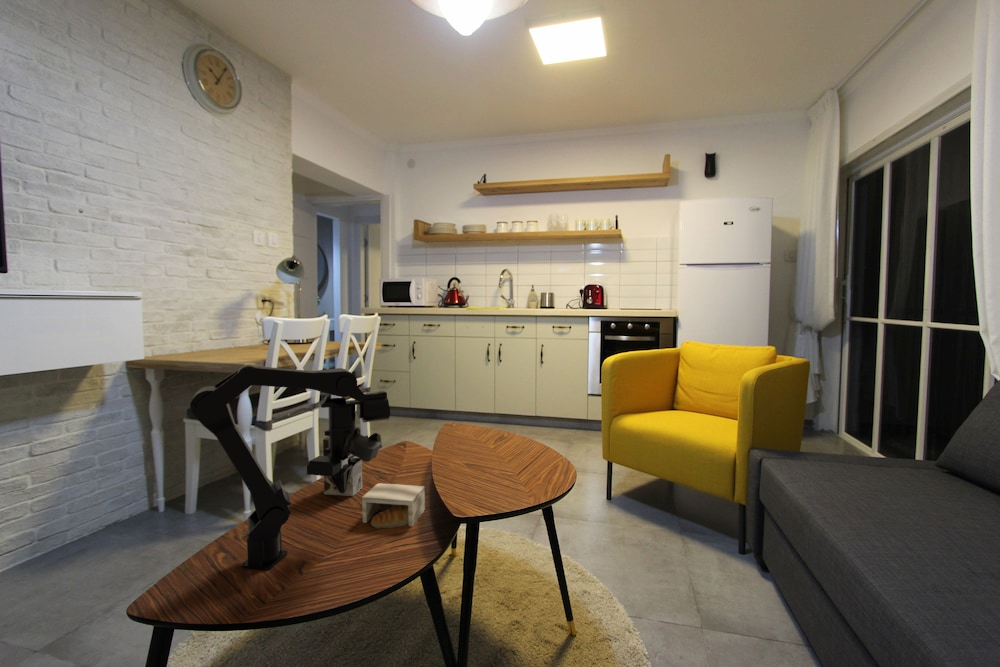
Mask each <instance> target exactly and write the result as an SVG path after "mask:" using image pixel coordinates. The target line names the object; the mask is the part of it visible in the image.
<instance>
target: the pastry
mask: <svg viewBox="0 0 1000 667" xmlns="http://www.w3.org/2000/svg"><path fill="white" fill-rule="evenodd" d="M405 524H407V525H409V517H408V507H407V505H402V506H395V507H390V508H388V509H387V510H385V511H380V512H378V513H377V514H375V515H374V516H373V517H372V518H371V519H370V525H371V526H372V527H373V528H376V529H392V528H397V527H396V526H398V527H402V526H401V525H403V526H406V525H405Z"/></svg>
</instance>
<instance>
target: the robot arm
mask: <svg viewBox="0 0 1000 667" xmlns="http://www.w3.org/2000/svg"><path fill="white" fill-rule="evenodd" d="M252 386H257V387H258V386H259V387H260V386H262V387H274V388H275V387H277V388H289V389H302V390H305V389H306V390H314V391H316V392H320V393H324V394H326V395H325V396H324V397H323V399H322V400H320V401H319V402H318V405H319V406H320V407H321V408H323V409H325V408H327V409H328V429H326V430H324V436H326V437H328V436H329V448H327V449H325V454H330V456H331V457H329V456H323V455H318V456H316V457H314V458H312V459H310V460H309V461H307V462H306V464H305V474H306V475H309V476H310V475H311V476H320V477H321V476H322V477H324V476H330V477H331V478H332V480H333V482H334V483H335V485H336V487H337V489H338V491H339V492H340V493H345V492H346V489H347V486H348V483H349V479H350V476H351V473H352V470H353V467H354V466H355V465H356V464H357V463H358V462H360V461H361V459H362V461H363V462H366V463H369V462H371V461H372V460H373V459H374V458H377V455H378V453H379V450H380V449H382V447H383V445H382V436H381V434H379V433H377V432H373V433H371V434H370V435H365V436H364V435H363V434H361V429H360V427H359V426H358V427H356V417H357V419H358V420H360V419H361V421H362V423H370V422H371V423H372V422H379V421H388V420H389V419H390V416H391V407H390V403H389V399H388V392H386V391H385V390H382V391H381V390H379V391H376V392H375V391H374V392H368V393H367V392H365V393H364V391H362V389H360V388H359V387H358V379H357V377H356V375H355V374H354V373H353V372H351V371H349V370H347V369H346V368H341V367H340V368H339V367H338V368H328V369H327V368H326V369H320V370H302V369H293V368H283V367H282V368H281V367H279V368H278V367H271V366H270V367H269V366H257V365H254V364H251V363H250V364H249V363H248V364H244V365H242V366H240V367H239V368H238V370H236V371H234V372H233V373H231V374H229V375H228V376H227V377H225V378H224V379H221V380H220V381H219V382H218V383H215V385H209V386H205V387H201V388H200V389H199V390H197V391H196V393H195V394H194V396H193V397H192V400H191V402H190V405H189V409H190V412H191V414H192V415H193V417H194V418H196V420H197V421H198V422H199V423H200V424H201V425H202V426H203V427H204V428H206V430H208V431H209V432H210V433H211V434H212V435H213V436H214V437H215V438H216V439H217V441H218V442H219V444H220V446H222V449H223V450H224V452H225V454H226V455H227V457H228V459H229V460H230V462H231V463H232V465H233V467H234V468H235V470H236V472H237V474H239V476H240V478H241V480H242V481H243V483H244V485H245V486H246V488H247V489H248V492H250V495H251V498H252V503H253V506H254V511H253V512H252V513H251V514H250V515H249V516H248V517H247V536H248V537H246V552H247V554H246V555H247V559H246V560H245V561H243V562H242V563H241V564H240V567H241V568H246V569H247V568H248V569H257V570H270V569H271V568H273V566H275V565H276V564H277V563H279V562H280V560H282V559H283V558H284V557H285V556H287V555H288V553H289V552H288V550H283V548H282V546H283V544H282V530H281V528H282V526H284V525H285V524H286V523H287V521H288V520H289V517H290V515H291V509H290V506H291V505H292V504H291V502H292V501H291V499H290V495H289V492H288V491H286V490H285V489H284V487H283V484H282V481H281V479H278V480H277V481H275V482H273V481H272V480H270V479H269V478H268V476H267V475H266V473H265V471H264V470H263V468H262V467H261V465H260V463H259V461H258V460H257V458H256V457H255V455H254V453H253V451H252V450H251V448H250V447H249V445H248V443H247V442H246V440H245V438H244V436H243V434H242V433H241V431H240V430H239V428H238V426H237V424H236V423H235V419H234V416H233V412H232V408H231V406H230V405H231V404H230V403H231V402H232V401H233V400H235V399H236V398H237V397H239V396H240V395H241V394H242V393H244V391H246V390H248V388H250V387H252ZM330 395H331V396H336V397H330ZM347 397H350V398H351V399H352V400H346V398H347ZM356 457H358V458H356Z"/></svg>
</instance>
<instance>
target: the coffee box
mask: <svg viewBox="0 0 1000 667" xmlns="http://www.w3.org/2000/svg"><path fill="white" fill-rule="evenodd" d="M322 448H323V449H322V450H323V451H322V452H323V453H322V454H323V455H322V456H329V457H331V456H330V454H325V449H327V448H329V436H326V437H325V438H323V440H322ZM356 458H358V457H356ZM362 461H363V460H362V459H361V461H360V462H358V463H357V464H356V465H355V466H354V467H353V470H352V473H351V476H350V479H349V483H348V486H347V489H346V492H345V493H340V492H339V491H338V489H337V487H336V485H335V483H334V482H333V480H332V478H331V477H330V476H323V489H324V490H323V493H324V495H329V496H330V495H332V496H343V497H345V496H347V497H354V496H355V495H356V494H357V493H358V492H359V491H361V490H362V489H363V463H362ZM360 489H361V490H360Z"/></svg>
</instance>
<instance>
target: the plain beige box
mask: <svg viewBox="0 0 1000 667" xmlns="http://www.w3.org/2000/svg"><path fill="white" fill-rule="evenodd" d="M425 491H426V490H425V485H410V484H397V483H396V484H395V483H394V484H393V483H377V484H375V485H374V486H372V488H371V489H369V490H368V492H366V493H365V494H364V495H363V496H362V497H361V506H362V508H361V509H362V510H361V511H362V523H363V524H365V523H366V524H367V523H368V522H369V521H371V520H372V518H373V516H375V515H377V514H378V512H377V511H380V510H381V512H383V511H385V510H387V509H388V508H390V507H395V506H402V505H407V507H408V517H409V524H408V527H414V525H415V524H416V523H417V521H418V520H419V519H420V517H421V516H422V515H423V513H424V512H425V511H426V496H425V495H426V494H425V493H426V492H425ZM424 510H425V511H424ZM376 513H377V514H376ZM421 514H422V515H421ZM418 518H419V519H418ZM417 519H418V520H417ZM415 522H416V523H415ZM414 523H415V524H414Z"/></svg>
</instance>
